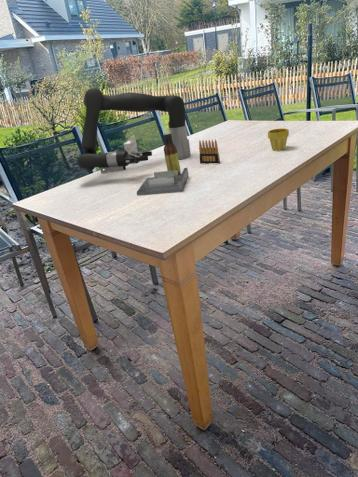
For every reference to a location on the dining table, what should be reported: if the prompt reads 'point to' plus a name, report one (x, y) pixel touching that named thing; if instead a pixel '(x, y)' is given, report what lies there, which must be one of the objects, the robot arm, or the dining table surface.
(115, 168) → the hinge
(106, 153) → the robot arm
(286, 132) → the plant pot
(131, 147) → the ink cartridge box
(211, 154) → the ammunition clip
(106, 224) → the dining table surface
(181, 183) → the plate
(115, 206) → the dining table surface
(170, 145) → the sauce bottle
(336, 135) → the dining table surface
